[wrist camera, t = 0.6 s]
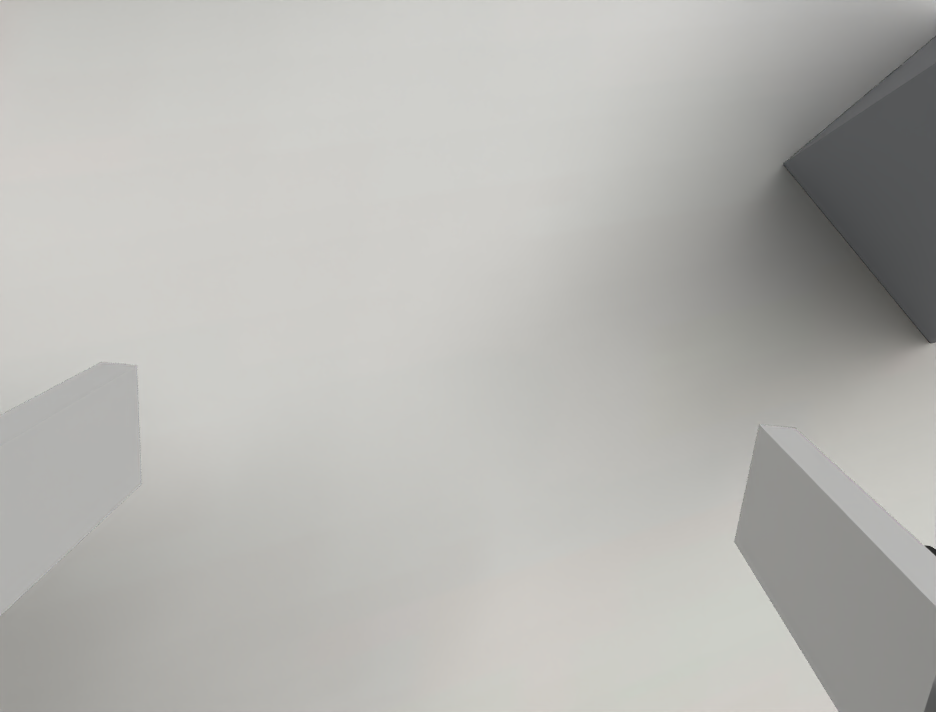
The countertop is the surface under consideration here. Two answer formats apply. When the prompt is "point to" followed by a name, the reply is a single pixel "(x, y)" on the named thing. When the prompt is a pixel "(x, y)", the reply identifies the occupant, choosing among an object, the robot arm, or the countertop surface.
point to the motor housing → (885, 183)
